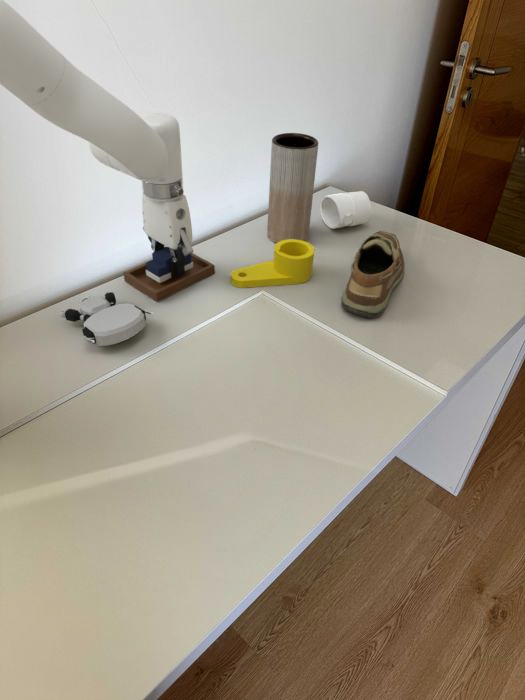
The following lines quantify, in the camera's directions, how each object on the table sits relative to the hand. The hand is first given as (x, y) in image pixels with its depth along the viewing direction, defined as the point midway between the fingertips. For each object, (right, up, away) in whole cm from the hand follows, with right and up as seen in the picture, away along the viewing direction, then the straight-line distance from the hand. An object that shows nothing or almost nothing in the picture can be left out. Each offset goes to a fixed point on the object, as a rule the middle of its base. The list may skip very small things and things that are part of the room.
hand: (169, 269), depth 110 cm
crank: (+21, -1, +3) cm, 21 cm away
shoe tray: (0, -1, +1) cm, 2 cm away
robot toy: (-9, -13, -13) cm, 20 cm away
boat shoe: (+43, -3, +2) cm, 43 cm away
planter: (+25, +11, +17) cm, 33 cm away
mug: (+39, +16, +24) cm, 49 cm away
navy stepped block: (0, 0, 0) cm, 0 cm away
